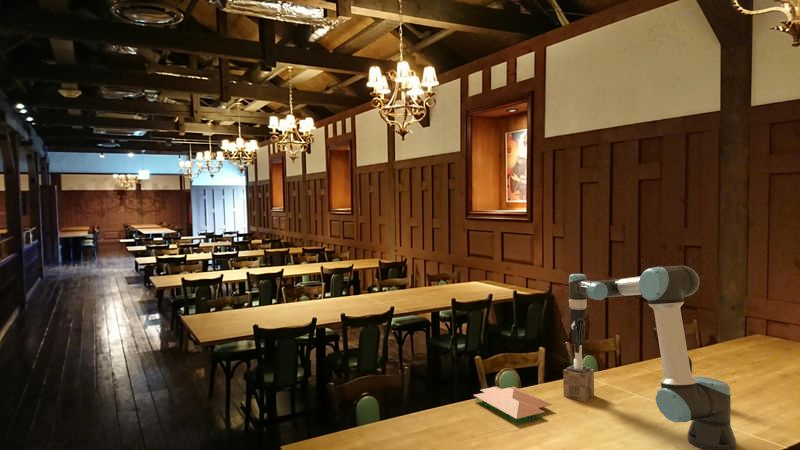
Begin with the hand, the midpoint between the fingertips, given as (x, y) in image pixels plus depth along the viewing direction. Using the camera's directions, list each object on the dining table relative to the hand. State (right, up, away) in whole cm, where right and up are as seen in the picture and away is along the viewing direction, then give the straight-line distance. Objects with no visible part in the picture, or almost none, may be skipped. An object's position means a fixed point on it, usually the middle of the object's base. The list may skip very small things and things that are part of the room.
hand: (578, 359), depth 233 cm
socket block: (0, -17, 0) cm, 17 cm away
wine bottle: (+45, -16, -4) cm, 48 cm away
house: (-32, -19, -11) cm, 39 cm away
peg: (0, -12, 0) cm, 12 cm away
